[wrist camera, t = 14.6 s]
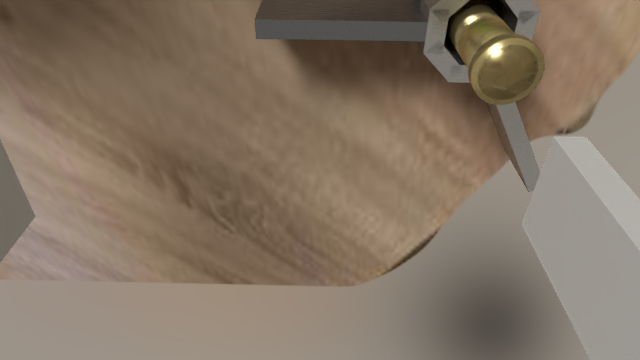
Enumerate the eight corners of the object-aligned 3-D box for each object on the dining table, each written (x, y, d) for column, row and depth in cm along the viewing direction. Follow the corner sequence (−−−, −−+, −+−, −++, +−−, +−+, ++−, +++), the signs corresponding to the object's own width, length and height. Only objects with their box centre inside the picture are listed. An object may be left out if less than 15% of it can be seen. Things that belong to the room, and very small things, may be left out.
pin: (426, 29, 46) (465, 104, 33) (434, -23, 43) (480, 38, 30) (474, 29, 46) (532, 105, 33) (485, -22, 43) (553, 39, 30)
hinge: (273, 145, 54) (266, 187, 48) (262, -50, 42) (251, -29, 36) (516, 150, 54) (542, 192, 48) (577, -45, 42) (622, -23, 36)
